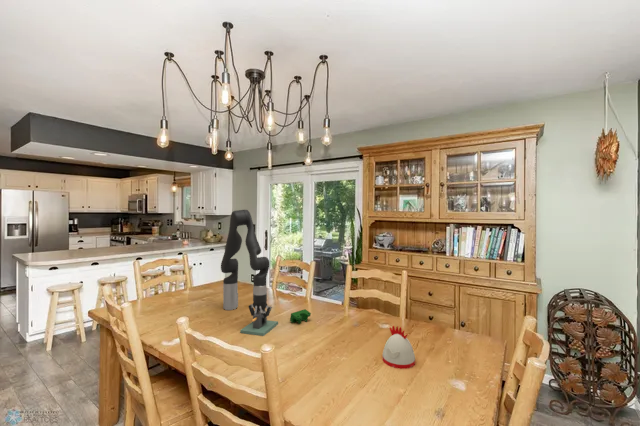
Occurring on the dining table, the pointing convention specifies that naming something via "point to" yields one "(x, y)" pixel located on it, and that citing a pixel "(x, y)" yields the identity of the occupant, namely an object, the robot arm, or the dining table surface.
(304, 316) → the green toy animal
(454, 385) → the dining table surface
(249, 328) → the header board
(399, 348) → the kitchen timer
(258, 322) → the block
